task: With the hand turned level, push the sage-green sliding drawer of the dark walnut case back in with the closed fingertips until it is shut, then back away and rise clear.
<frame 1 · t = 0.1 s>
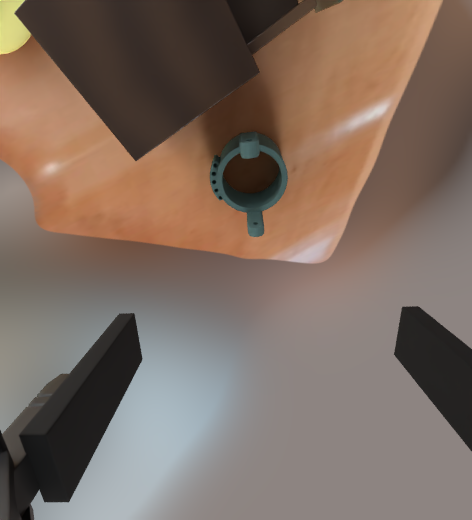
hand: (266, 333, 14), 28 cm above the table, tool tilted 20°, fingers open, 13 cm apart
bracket: (247, 165, 37), on the table
case: (167, 44, 29), on the table
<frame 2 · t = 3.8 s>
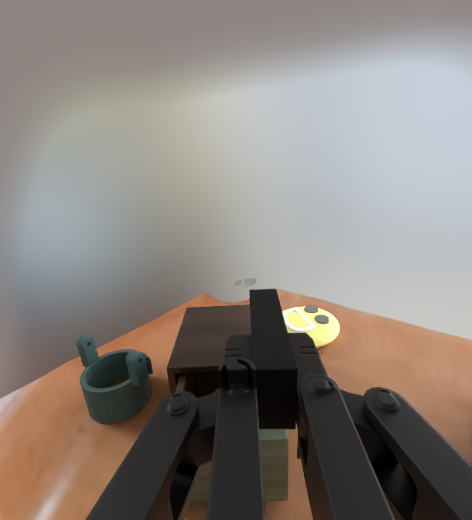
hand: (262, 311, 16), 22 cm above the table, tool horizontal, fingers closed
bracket: (123, 396, 40), on the table
case drawer: (225, 418, 30), point 5 cm above the table, slide at 7.0 cm
emoji: (304, 335, 51), on the table
case: (230, 387, 40), on the table
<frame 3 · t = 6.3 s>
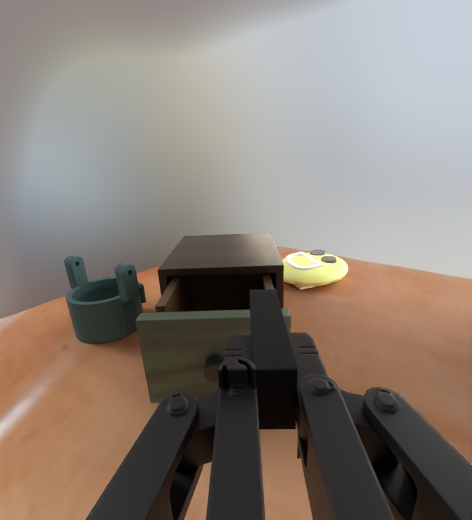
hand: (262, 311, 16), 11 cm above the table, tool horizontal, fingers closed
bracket: (114, 324, 37), on the table
case drawer: (221, 323, 27), point 5 cm above the table, slide at 7.0 cm
emoji: (309, 279, 48), on the table
case: (228, 316, 37), on the table
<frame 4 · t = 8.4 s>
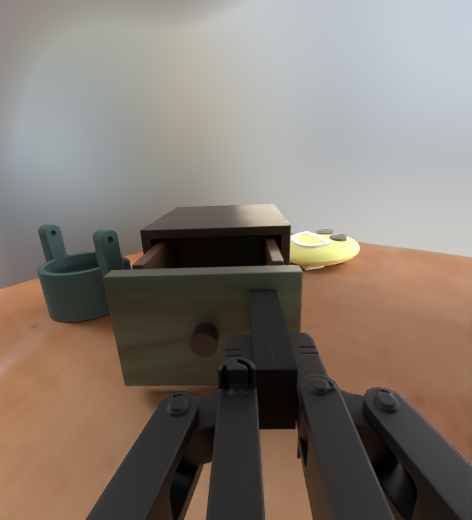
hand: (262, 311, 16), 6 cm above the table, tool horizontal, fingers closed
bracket: (95, 303, 33), on the table
case drawer: (215, 293, 22), point 5 cm above the table, slide at 7.0 cm, touching gripper
emoji: (316, 261, 44), on the table
case: (225, 296, 33), on the table
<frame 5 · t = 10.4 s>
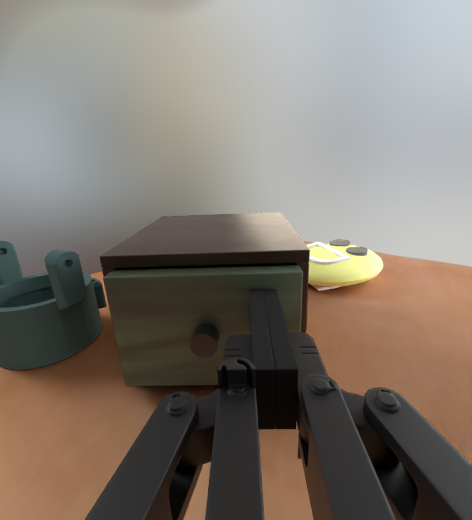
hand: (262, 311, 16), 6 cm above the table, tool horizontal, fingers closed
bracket: (58, 338, 26), on the table
case drawer: (215, 293, 22), point 5 cm above the table, slide at 0.0 cm, touching case, gripper
emoji: (329, 278, 37), on the table
case: (221, 329, 26), on the table
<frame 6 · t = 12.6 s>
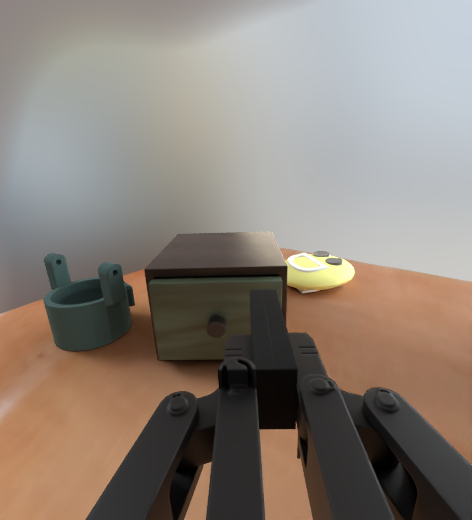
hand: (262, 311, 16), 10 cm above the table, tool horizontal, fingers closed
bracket: (98, 329, 34), on the table
case drawer: (221, 295, 30), point 5 cm above the table, slide at 0.0 cm, touching case
emoji: (312, 283, 45), on the table
case: (224, 322, 34), on the table
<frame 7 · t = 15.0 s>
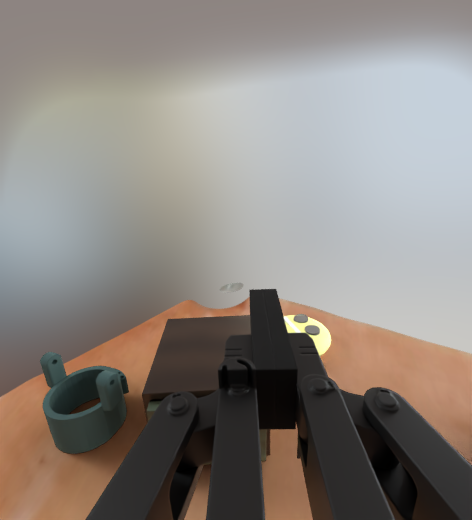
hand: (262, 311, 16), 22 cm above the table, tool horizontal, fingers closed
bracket: (95, 419, 36), on the table
case drawer: (211, 393, 33), point 5 cm above the table, slide at 0.0 cm, touching case
emoji: (293, 346, 49), on the table
case: (214, 407, 37), on the table
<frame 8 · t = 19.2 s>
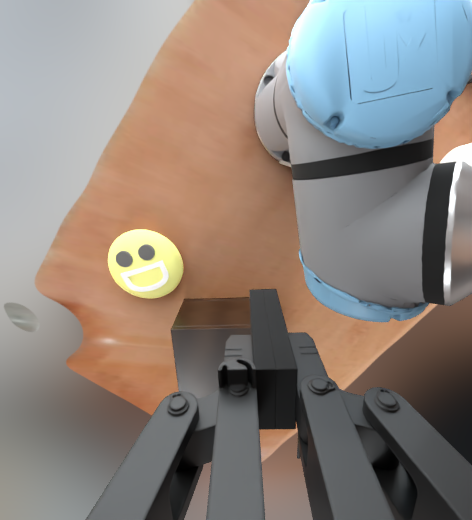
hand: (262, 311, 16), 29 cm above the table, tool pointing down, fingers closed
emoji: (150, 261, 47), on the table
case: (224, 329, 50), on the table
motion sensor: (448, 172, 41), on the table
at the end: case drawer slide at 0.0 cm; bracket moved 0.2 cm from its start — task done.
